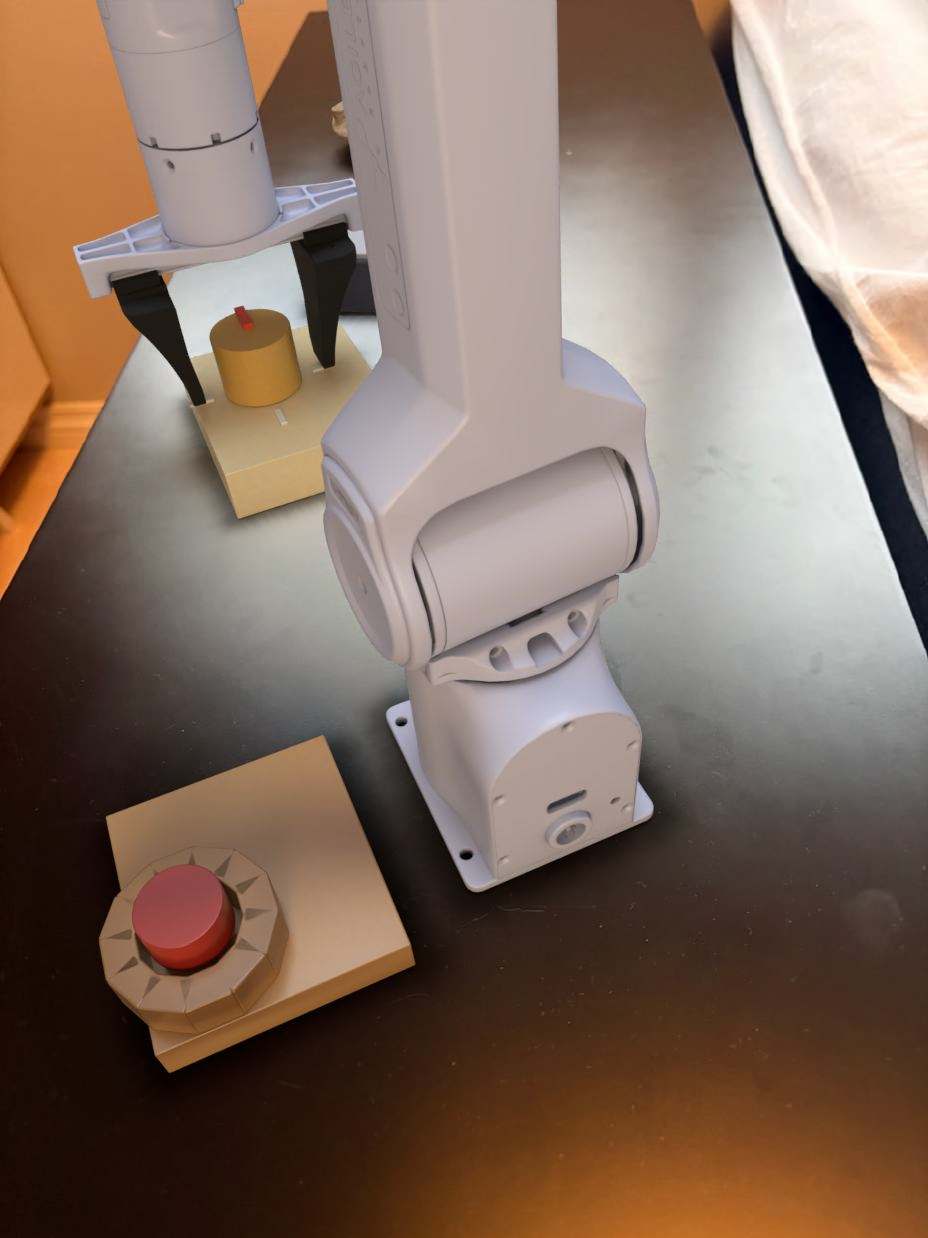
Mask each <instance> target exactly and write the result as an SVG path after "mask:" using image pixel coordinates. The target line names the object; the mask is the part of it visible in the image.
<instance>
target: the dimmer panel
mask: <svg viewBox="0 0 928 1238" xmlns="http://www.w3.org/2000/svg"><path fill="white" fill-rule="evenodd" d="M291 330H292V335H293V339H294V344H295V349H296V353H297V358H298V362H299V367H300V372H301V376H302V381H301V385H300V387H299V388H298V390H297V391H296V392H295V393H294V394H292V395H291V396H290V397H288V398H286V399H285V400H283V401H280V402H278V403H275V404H271V405H267V406H259V407H250V406H243V405H239V404H236V403H234V402H232V401H231V400H230V399H229V398H228V397H227V396H226V394H225V391H224V388H223V384H222V381H221V377H220V374H219V370H218V367H217V364H216V360H215V357H214V353H213V351H211V352H207V353H204V354H200V355H197V356H194V357H190V360H191V363H192V365H193V367H194V370H195V372H196V375H197V377H198V379H199V382H200V384H201V387H202V389H203V392H204V395H205V399H206V404H203V405H199V406H194V405H193V403H192V400H191V398H190V396H189V393H188V391H187V389H186V388H185V386H184V385H183V387H184V391H185V393H186V396H187V399H188V403H187V404H188V406H189V408H190V409H191V410H192V412H193V415H194V417H195V420H196V422H197V424H198V427H199V429H200V432H201V434H202V436H203V439H204V441H205V444H206V446H207V448H208V450H209V454H210V455H211V458H212V460H213V463H214V465H215V468H216V470H217V472H218V475H219V477H220V480H221V482H222V485H223V487H224V489H225V491H226V494H227V496H228V499H229V500H230V501H229V502H230V503H231V505H232V508H233V510H234V513H235V515H236V517H237V519H238V520H240V519H243V518H246V517H249V516H252V515H255V514H259V513H261V512H264V511H265V512H266V511H268V510H271V509H274V508H277V507H281V506H283V505H287V504H289V503H290V504H291V503H292V502H297V501H299V500H303V499H305V498H309V497H312V496H316V495H318V494H321V493H325V488H324V481H323V475H322V470H321V463H322V460H323V458H324V455H323V451H322V447H321V440H322V437H323V435H324V433H325V432H326V431H327V429H328V428H329V426H330V425H331V424H332V422H333V421H334V420H335V418H336V417H337V415H338V414H339V413H340V411H341V410H342V409H343V407H344V406H345V405H346V403H347V402H348V401H349V400H350V398H351V397H352V396H353V395H354V393H355V392H356V391H357V389H358V388H359V387H360V386H361V384H362V383H363V382H364V380H365V379H366V378H367V377H368V375H369V374H370V372H371V371H372V370H373V369H372V368H371V367H370V365H369V364H368V362H367V361H366V360H365V358H364V357H363V355H362V353H361V352H360V351H359V349H358V347H357V346H356V345H355V343H354V342H353V340H352V339H351V337H350V335H349V334H348V333H347V331H346V330H345V328H344V327H343V326H342V324H341V323H340V321H338V327H337V336H336V347H335V366H334V367H330V368H327V369H324V368H323V366H322V365H321V363H320V362H319V360H318V358H317V357H316V355H315V353H314V351H313V347H312V344H311V340H310V336H309V330H308V325H304V326H301V327H298V328H294V329H291Z"/></svg>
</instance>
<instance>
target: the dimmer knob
mask: <svg viewBox="0 0 928 1238" xmlns="http://www.w3.org/2000/svg"><path fill="white" fill-rule="evenodd" d="M233 311H234V313H232V314H231V313H230V314H229V315H226V316H225V317H223V318H221V319H220V320H218V322H216V323H215V324H214V325H213V326H212V328H211V329H210V332H209V336H208V337H209V338H208V339H209V343H210V346H211V350H212V352H213V353H214V357H215V360H216V364H217V367H218V370H219V374H220V377H221V381H222V384H223V388H224V391H225V394H226V396H227V397H228V398H229V399H230V400H231V401H232V402H234V403H236V404H239V405H243V406H250V407H259V406H267V405H271V404H275V403H278V402H280V401H283V400H285V399H286V398H288V397H290V396H291V395H292V394H294V393H295V392H296V391H297V390H298V388H299V387H300V385H301V381H302V376H301V372H300V367H299V362H298V358H297V353H296V349H295V344H294V339H293V335H292V330H293V329H292V326H291V322H290V320H289V319H288V317H287V316H286V315H285V314H283V313H281V312H279V311H277V310H274V309H267V308H250V309H246V308H245V306H244V305H239V306H236V307H233Z"/></svg>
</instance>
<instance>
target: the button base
mask: <svg viewBox="0 0 928 1238" xmlns="http://www.w3.org/2000/svg"><path fill="white" fill-rule="evenodd" d="M105 820H106V826H107V830H108V835H109V840H110V845H111V850H112V854H113V859H114V864H115V869H116V874H117V879H118V883H119V889H120V892H118V893H117V895H116V896H115V897H114V898H113V900H112V903H111V905H110V908H109V911H108V913H107V916H106V919H105V921H104V924H103V926H102V929H101V932H100V934H99V936H98V944H99V951H100V956H101V961H102V967H103V972H104V978H105V981H106V983H107V984H108V986H109V988H111V989H112V991H113V992H114V993H115V994H116V996H117V997H118V998H119V1000H120V1001H121V1002H122V1003H123V1004H124V1005H125V1006H126V1007H127V1008H128V1009H129V1010H130V1011H131V1012H132V1013H134V1015H136V1016H137V1017H138V1018H139V1019H141V1021H143V1022H144V1023H145V1024H146V1025H147V1026H148V1029H149V1035H150V1040H151V1044H152V1049H153V1055H154V1056H155V1057H156V1059H157V1060H158V1061H159V1062H160V1064H162V1066H163V1067H164V1069H165V1070H166V1071H167V1072H168V1074H170V1073H173V1072H175V1071H177V1070H180V1069H182V1068H184V1067H187V1066H189V1065H192V1064H193V1063H197V1062H198V1061H200V1060H203V1059H204V1058H207V1057H209V1056H212V1055H213V1054H216V1053H219V1052H221V1051H223V1050H226V1049H228V1048H230V1047H232V1046H234V1045H236V1044H239V1043H241V1042H243V1041H246V1040H248V1039H250V1038H253V1037H254V1036H257V1035H260V1034H262V1033H263V1032H266V1031H269V1030H271V1029H273V1028H275V1027H277V1026H279V1025H280V1026H281V1025H282V1024H284V1023H287V1022H288V1021H291V1020H293V1019H296V1018H297V1017H300V1016H302V1015H304V1014H307V1013H309V1012H311V1011H314V1010H317V1009H319V1008H320V1007H322V1006H325V1005H328V1004H330V1003H332V1002H334V1001H336V1000H339V999H341V998H343V997H345V996H348V995H350V994H352V993H355V992H357V991H359V990H361V989H363V988H366V987H368V986H371V985H373V984H374V983H377V982H380V981H381V980H384V979H386V978H389V977H391V976H393V975H395V974H397V973H400V972H403V971H405V970H406V969H409V968H411V967H413V966H415V965H416V960H415V956H414V951H413V948H412V947H413V946H412V944H411V941H410V938H409V936H408V934H407V931H406V929H405V927H404V923H403V921H402V919H401V918H400V914H399V912H398V909H397V907H396V905H395V903H394V900H393V898H392V895H391V893H390V890H389V888H388V886H387V883H386V881H385V878H384V876H383V874H382V871H381V869H380V867H379V864H378V862H377V859H376V857H375V854H374V852H373V849H372V847H371V845H370V842H369V839H368V837H367V835H366V832H365V830H364V828H363V826H362V823H361V821H360V819H359V816H358V814H357V811H356V809H355V806H354V804H353V801H352V799H351V797H350V794H349V792H348V790H347V786H346V785H345V782H344V780H343V778H342V775H341V773H340V770H339V767H338V765H337V763H336V761H335V758H334V756H333V753H332V750H331V748H330V746H329V744H328V742H327V739H326V737H325V735H324V734H321V735H319V736H316V737H314V738H311V739H308V740H305V741H302V742H300V743H298V744H294V745H292V746H289V747H287V748H284V749H281V750H279V751H277V752H273V753H271V754H269V755H268V754H267V755H265V756H263V757H260V758H257V759H255V760H252V761H250V762H247V763H244V764H242V765H239V766H237V767H233V768H231V769H229V770H226V771H223V772H220V773H217V774H215V775H212V776H210V777H207V778H204V779H201V780H199V781H196V782H194V783H191V784H189V785H186V786H183V787H180V788H178V789H176V790H175V789H174V790H173V791H170V792H167V793H165V794H161V795H160V796H157V797H154V798H151V799H150V800H149V799H148V800H146V801H143V802H141V803H138V804H135V805H132V806H130V807H127V808H125V809H122V810H120V811H116V812H114V813H111V814H109V815H106V816H105ZM184 864H192V865H198V866H202V867H204V868H206V869H208V870H210V871H211V872H212V873H214V874H215V875H216V877H217V878H218V879H219V881H220V883H221V885H222V887H223V889H224V890H225V892H226V894H227V896H228V898H229V900H230V902H231V904H232V906H233V909H234V912H235V920H236V922H235V929H234V933H233V936H232V938H231V940H230V942H229V944H228V946H227V947H226V949H225V950H224V951H223V952H222V953H221V954H220V955H219V956H218V957H217V958H216V959H215V960H213V961H212V962H211V963H209V964H207V965H205V966H203V967H201V968H198V969H196V970H191V971H173V970H169V969H166V968H164V967H162V966H161V965H159V964H158V963H157V962H156V961H155V960H154V959H153V957H152V956H151V954H150V953H149V951H148V950H147V949H146V947H145V946H144V944H143V943H142V941H141V940H140V938H139V937H138V935H137V934H136V932H135V930H134V927H133V924H132V910H133V905H134V902H135V900H136V897H137V895H138V894H139V892H140V890H141V889H142V888H143V886H144V885H145V884H146V883H147V882H148V881H149V880H150V879H151V878H152V877H154V876H155V875H157V874H158V873H160V872H161V871H163V870H165V869H168V868H170V867H173V866H177V865H184Z"/></svg>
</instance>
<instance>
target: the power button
mask: <svg viewBox="0 0 928 1238" xmlns="http://www.w3.org/2000/svg"><path fill="white" fill-rule="evenodd" d="M235 922H236V920H235V912H234V909H233V906H232V904H231V902H230V900H229V898H228V896H227V894H226V892H225V890H224V889H223V887H222V885H221V883H220V881H219V879H218V878H217V877H216V875H215V874H214V873H212V872H211V871H210V870H208V869H206V868H204V867H202V866H198V865H192V864H184V865H177V866H173V867H170V868H168V869H165V870H163V871H161V872H160V873H158V874H157V875H155V876H154V877H152V878H151V879H150V880H149V881H148V882H147V883H146V884H145V885H144V886H143V888H142V889H141V890H140V892H139V894H138V895H137V897H136V900H135V902H134V905H133V910H132V924H133V927H134V930H135V932H136V934H137V935H138V937H139V938H140V940H141V941H142V943H143V944H144V946H145V947H146V949H147V950H148V951H149V953H150V954H151V956H152V957H153V959H154V960H155V961H156V962H157V963H158V964H159V965H161V966H162V967H164V968H166V969H169V970H173V971H191V970H196V969H198V968H201V967H203V966H205V965H207V964H209V963H211V962H212V961H213V960H215V959H216V958H217V957H218V956H219V955H220V954H221V953H222V952H223V951H224V950H225V949H226V947H227V946H228V944H229V942H230V940H231V938H232V936H233V933H234V929H235Z"/></svg>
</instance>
